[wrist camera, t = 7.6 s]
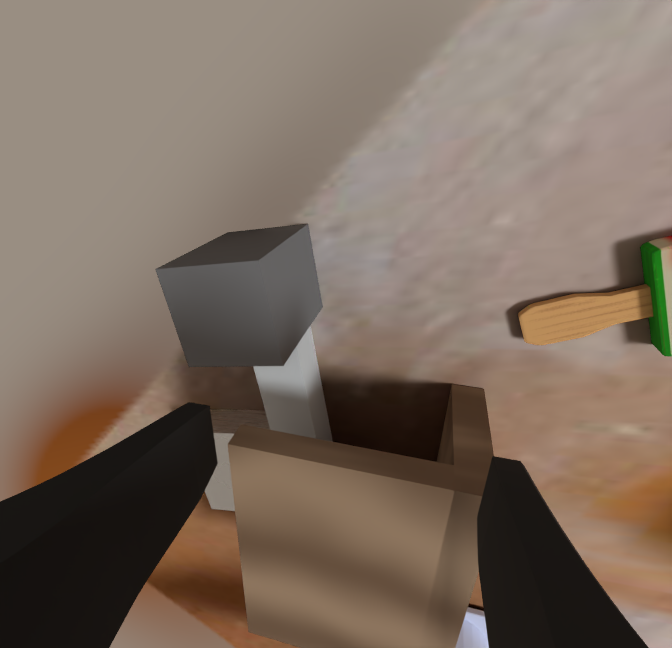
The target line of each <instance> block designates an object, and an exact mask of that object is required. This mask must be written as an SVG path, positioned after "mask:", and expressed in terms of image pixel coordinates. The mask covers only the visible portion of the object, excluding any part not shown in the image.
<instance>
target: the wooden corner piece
mask: <svg viewBox="0 0 672 648" xmlns="http://www.w3.org/2000/svg"><path fill="white" fill-rule="evenodd" d="M228 453H229V462H230V471H231V480H232V488H233V497H234V506H235V515H236V524H237V533H238V542H239V551H240V560H241V569H242V578H243V587H244V596H245V604H246V613H247V622H248V631H249V632H250V633H254V634H257V635H260V636H264V637H267V638H270V639H274V640H277V641H280V642H284V643H287V644H290V645H294V646H297V647H301V648H455V647H456V644H457V641H458V638H459V634H460V631H461V628H462V624H463V621H464V618H465V615H466V611H467V608H468V605H469V601H470V598H471V595H472V591H473V588H474V585H475V582H476V578H477V575H478V572H479V567H478V547H477V515H478V511H479V507H480V503H481V499H482V495H483V492H484V488H485V484H486V480H487V476H488V472H489V468H490V464H491V460H492V456H494V454H493V447H492V440H491V433H490V427H489V420H488V413H487V406H486V399H485V392H484V389H480V388H474V387H468V386H461V385H455V384H452V386H451V391H450V396H449V401H448V406H447V412H446V417H445V422H444V427H443V432H442V437H441V443H440V448H439V453H438V458H437V462H434V461H429V460H424V459H419V458H414V457H408V456H403V455H398V454H393V453H388V452H383V451H378V450H372V449H367V448H362V447H357V446H352V445H347V444H341V443H336V442H331V441H326V440H321V439H316V438H311V437H305V436H300V435H295V434H290V433H285V432H280V431H274V430H269V429H264V428H259V427H254V426H249V425H243V424H241V425H240V426H239V428H238V429H237V431H236V432H235V434H234V435H233V437H232V438H231V440H230V441H229V443H228Z"/></svg>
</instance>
